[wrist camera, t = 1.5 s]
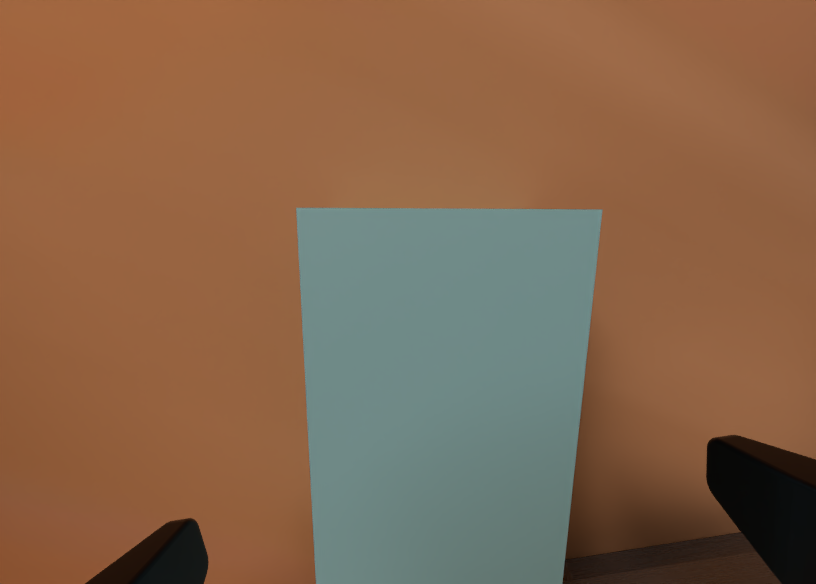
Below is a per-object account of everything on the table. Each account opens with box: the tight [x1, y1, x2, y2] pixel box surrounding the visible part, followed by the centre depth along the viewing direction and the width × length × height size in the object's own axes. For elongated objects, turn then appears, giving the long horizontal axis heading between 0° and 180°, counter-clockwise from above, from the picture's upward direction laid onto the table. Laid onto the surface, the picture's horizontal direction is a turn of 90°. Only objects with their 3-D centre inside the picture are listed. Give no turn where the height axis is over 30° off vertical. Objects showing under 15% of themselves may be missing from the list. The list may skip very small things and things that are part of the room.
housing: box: [296, 208, 602, 584], centre depth 9 cm, size 5×10×4 cm, turn 0°
